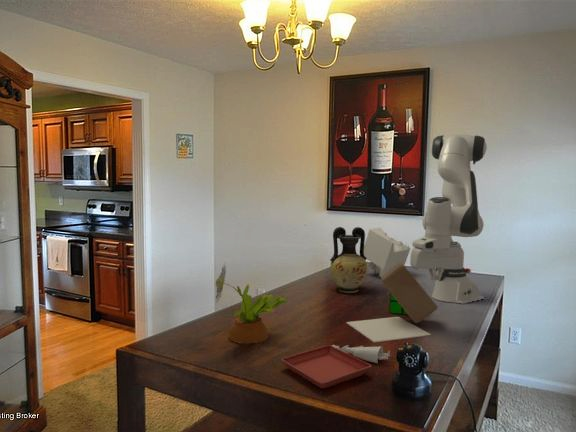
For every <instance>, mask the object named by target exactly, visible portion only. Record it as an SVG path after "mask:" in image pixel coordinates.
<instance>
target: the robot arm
mask: <svg viewBox="0 0 576 432" xmlns="http://www.w3.org/2000/svg"><path fill="white" fill-rule="evenodd" d="M430 151H431V156H432V157H433V158H434V159H435V160H438V162H437V173H438V174H439V176H440V177H441V179H443V183H442V191H441V194H442V195H441V196H435V197H432V198H430V199H428V201H427V204H426V205H427V207H426V213H424V216H423V218H422V227H423V230H425V232H424V236H421V237H420V238H417V239H415V240H413V241H412V242H411V243H412V247H413V248H412V249H411V252H410V261H409V264H410V267H411V268H412V269H415V270H428V272H429V274H430V280H431V281H435V283H434V286H433V291H432V294H431V298H432V299H434V300H437V301H440V302H445V303H446V302H447V303H454V304H455V303H456V304H460V303H461V305H462V304H463V305H464V304H469V303H473V302H472V301H474V302H478V301H477V300H479V301H482V300H481V299H484V300H485V297H484V296H483V295H481V294H479V288H478V285H477V283H476V282H475V281H473V280H472V279H471V278H470V277H468V276H467V274H471V272H472V270H471V268H467V267H466V268H465V267H464V259H465V252H464V249H463V248H462V244H461V243H460V242H458V241H454V240H453V238H452V237H459V238H460V237H462V238H474V237H478V236H479V235H480V234H481V233H482V231H483V230H484V221H483V218H482V216H481V214H480V210H479V204H478V202H479V201H478V191H477V183H476V175H475V172H474V171H472V169H471V162H472V164H473V166H474V165H475V164H476V163H477V162H480V161H481V160H482V159H483V158H484V156H485V154H486V152H487V143H486V140H485V137H483V136H481V135H470V134H451V135H443V134H442V135H438V136H436V137H434V138H433V139H432V142H431V145H430ZM468 302H469V303H468Z"/></svg>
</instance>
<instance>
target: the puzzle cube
mask: <svg viewBox="0 0 576 432" xmlns="http://www.w3.org/2000/svg"><path fill="white" fill-rule="evenodd" d="M389 314H398V315H406V316H409V315H408V314H407V312H406V311H405V310H404V309H403V307H402V306H401V305H400V304H399V303H398V301H397V300H396V299H395V298H394V296H393V295H392V294H391V293H390V292H389Z"/></svg>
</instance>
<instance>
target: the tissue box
mask: <svg viewBox="0 0 576 432" xmlns="http://www.w3.org/2000/svg"><path fill="white" fill-rule="evenodd" d="M368 229H369V228H368ZM410 250H411V248H410V246H409V245H407V244H406V243H405V244H404V243H403V242H402V241H401V240H396V239H394V238H393V237H390V236H388V234H387V232H385V231H384V229H382V228H381V227H376V228H375V227H374V228H370V229H369V230H368V232H367V236H366V238H365V242H364V256H365V257H366V258H367V259H366V261H369V262H370V263H369V264H367V267H369V268H370V269H371V270H373V271H372V273H373V274H374V275H378V277H379V278H381V277H382V276H383V275H384V274H385V273H387V272H388V271H389V270H391V269H392V268H393V267H394V266H396V265H397V264H398V263H402V264H403V265H404V266H405V265H406V263H407V259H408V257H409V253H410Z"/></svg>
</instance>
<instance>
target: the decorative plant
mask: <svg viewBox="0 0 576 432" xmlns="http://www.w3.org/2000/svg"><path fill="white" fill-rule="evenodd" d="M226 269H227V266H226V263H225V262H223V266H221V272H220V275H219V276H218V278H217V279H216V280H215V286H216V292H215V293H216V295H215V300H216V302H215V303H218V302H219V300H220V299H221V297H222V292H223V289H224V285H227V286H228V287H232V288H233V289H234V290H235V291H236V292H237V293H238V294H239V296H240V297H241V299H242V300H241V308H240V311H239V310H236V312H235V313H234V317H235V320H234V323H233V324H232V325H231V327H230V329H229V334H228V337H229V338H230V339H231V340H233V341H236V342H241V343H256V344H259V343H258V342H260V343H263V342H265V341H266V339H267V338H268V339H269V334H268V331H267V327H266V325H265V324H264V322H263V319H262V318H261V316H260V315H262V314H264V313H265V312H267V313H273V312H274V310H273V309H275V308H277V307H280V305H282V304H286V303H287V302H288V301H289V300H288V298H287V299H286V298H283V295H281V296H279V297H276V296H275V295H273V294H271V293H270V294H269V295H268V294H263V295H262V296H259V298H258V299H257V300H256V301H255V302H254V303H253V300H252V295H250V294H248V292H249V289H250V284H247V285H246V286H245V288H244V289H243V293H242V290H241V288H240V286H239V285H237V287H235V286H233V285H230V284H228V283H225V281H226V279H225V278H226V274H227V270H226ZM229 338H228V339H229ZM268 339H267V340H268ZM264 340H265V341H264ZM262 341H263V342H262Z"/></svg>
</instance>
